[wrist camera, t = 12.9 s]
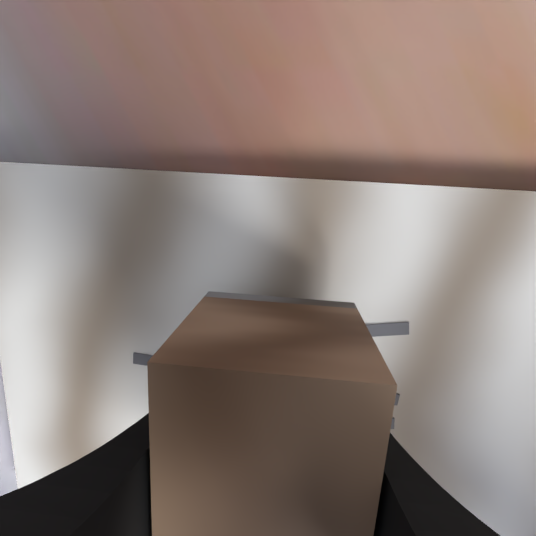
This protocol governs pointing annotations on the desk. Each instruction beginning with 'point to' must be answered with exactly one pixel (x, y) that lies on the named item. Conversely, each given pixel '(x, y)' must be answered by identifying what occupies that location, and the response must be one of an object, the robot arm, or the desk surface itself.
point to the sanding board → (280, 285)
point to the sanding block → (268, 420)
